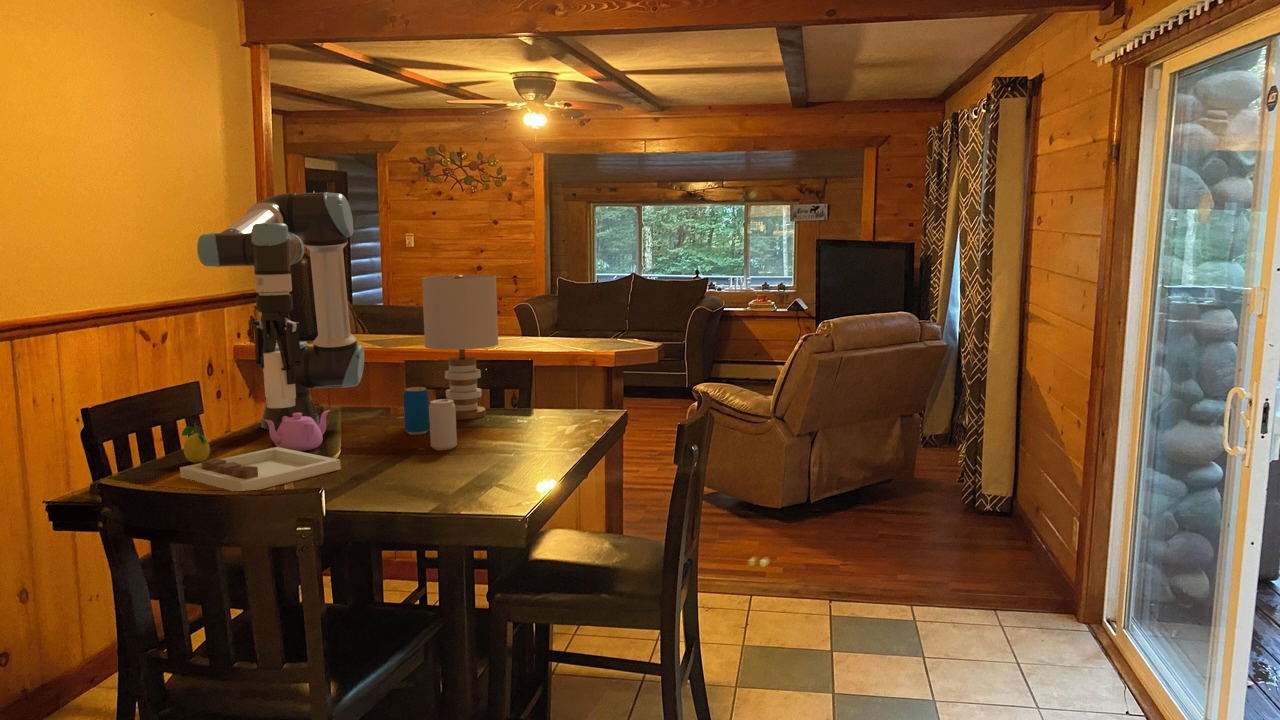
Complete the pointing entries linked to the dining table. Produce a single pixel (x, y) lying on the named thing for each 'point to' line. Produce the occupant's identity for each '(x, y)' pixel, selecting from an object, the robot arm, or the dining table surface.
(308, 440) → the teapot
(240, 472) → the walnut cube
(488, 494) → the dining table surface
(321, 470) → the tray
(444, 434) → the beverage can
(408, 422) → the beverage can
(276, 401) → the white rounded tapered cylinder
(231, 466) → the walnut cube
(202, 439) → the lemon
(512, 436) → the dining table surface
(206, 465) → the walnut cube
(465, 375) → the lamp
